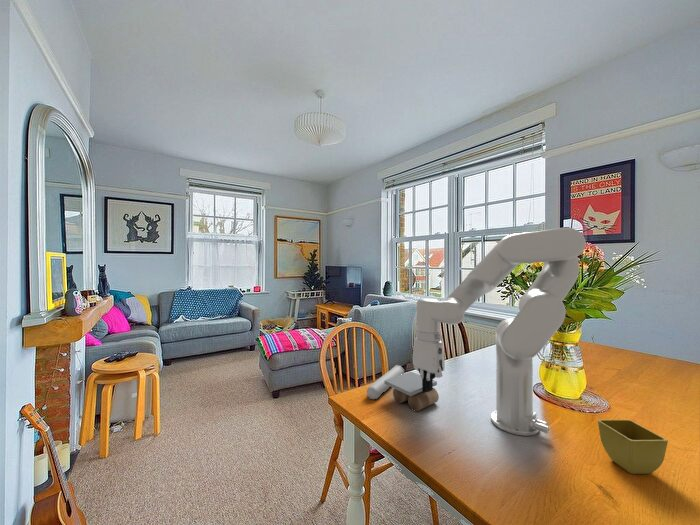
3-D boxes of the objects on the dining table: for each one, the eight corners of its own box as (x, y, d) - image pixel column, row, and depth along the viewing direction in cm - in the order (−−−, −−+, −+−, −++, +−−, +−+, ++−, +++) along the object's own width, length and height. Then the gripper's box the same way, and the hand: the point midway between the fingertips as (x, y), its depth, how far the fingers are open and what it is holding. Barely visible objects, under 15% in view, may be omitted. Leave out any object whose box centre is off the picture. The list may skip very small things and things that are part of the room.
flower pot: (630, 454, 73) (630, 418, 73) (669, 480, 64) (669, 440, 64) (596, 454, 73) (596, 419, 73) (631, 481, 64) (631, 440, 64)
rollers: (438, 404, 98) (438, 390, 98) (419, 414, 92) (419, 398, 92) (411, 392, 108) (411, 378, 108) (392, 399, 102) (392, 385, 102)
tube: (378, 392, 100) (406, 369, 121) (366, 384, 102) (394, 362, 123) (374, 405, 101) (402, 380, 122) (362, 397, 103) (391, 373, 124)
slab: (436, 384, 101) (436, 381, 101) (410, 396, 93) (410, 392, 93) (410, 374, 111) (410, 371, 111) (384, 383, 102) (384, 380, 102)
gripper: (454, 338, 92) (453, 395, 92) (417, 329, 104) (416, 380, 104) (440, 342, 88) (439, 402, 88) (403, 332, 99) (402, 385, 99)
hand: (427, 390), depth 96 cm, fingers closed
